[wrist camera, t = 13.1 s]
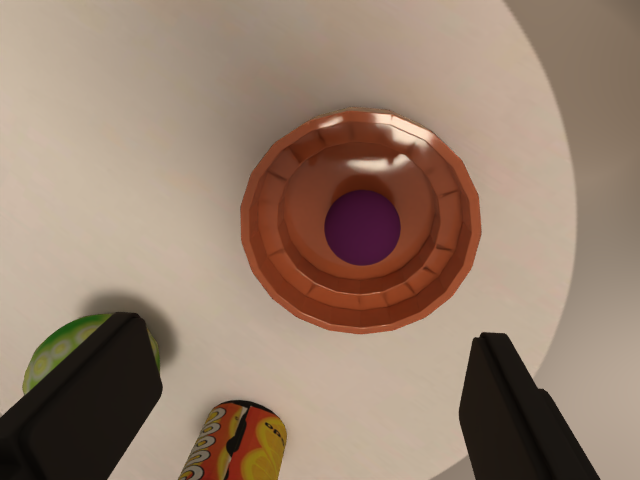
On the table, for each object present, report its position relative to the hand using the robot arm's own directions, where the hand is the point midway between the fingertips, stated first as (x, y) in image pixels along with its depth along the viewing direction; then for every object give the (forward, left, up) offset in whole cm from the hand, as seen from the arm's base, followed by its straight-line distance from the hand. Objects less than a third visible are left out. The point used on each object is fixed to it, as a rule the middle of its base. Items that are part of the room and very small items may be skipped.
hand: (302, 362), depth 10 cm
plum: (+1, +2, -18) cm, 18 cm away
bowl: (+1, +2, -18) cm, 18 cm away
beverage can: (+29, 0, -18) cm, 34 cm away
